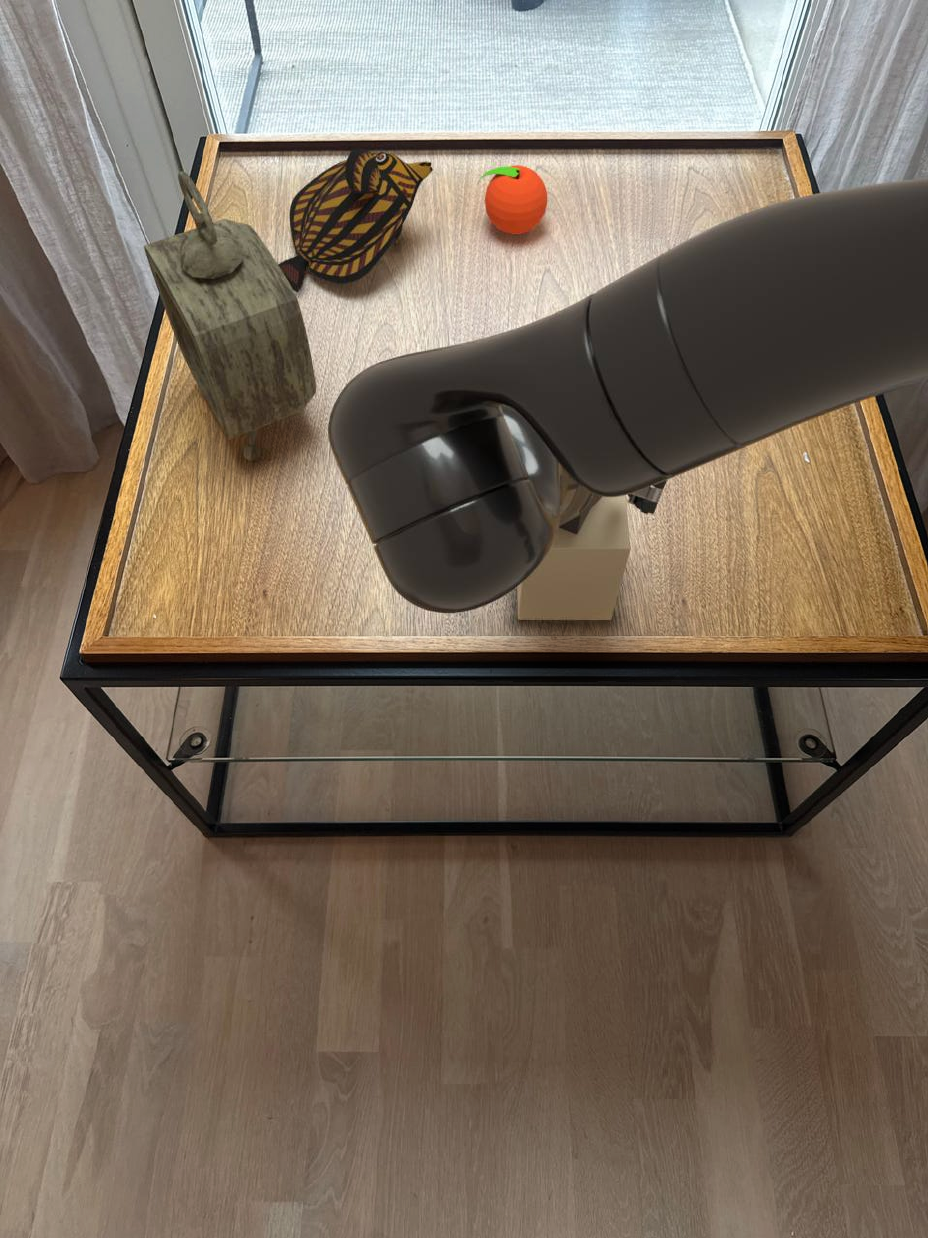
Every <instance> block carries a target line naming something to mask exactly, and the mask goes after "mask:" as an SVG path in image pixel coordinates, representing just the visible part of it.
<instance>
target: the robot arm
mask: <svg viewBox="0 0 928 1238" xmlns="http://www.w3.org/2000/svg"><path fill="white" fill-rule="evenodd" d="M927 380H928V176H927V177H920V178H912V179H905V180H898V181H897V180H896V181H891V182H883V183H875V184H870V185H862V186H855V187H849V188H843V189H835V190H828V191H824V192H819V193H813V194H809V195H804V196H798V197H794V198H791V199H787V200H783V201H780V202H775V203H772V204H768V205H766V206H763V207H759V208H757V209H753V210H751V211H748V212H746V213H742V214H740V215H738V216H735V217H732V218H730V219H728V220H725V221H723V222H720V223H718V224H715V225H714V226H712V227H710V228H707V229H706V230H704V231H702V232H699V233H698V234H695V235H694V236H692V237H690V238H687V239H685V240H684V241H683V242H681V243H679V244H677V245H675V246H673V247H672V248H670V249H668V250H667V251H665V252H664V253H661V254H659V255H658V256H656V257H654V258H652V259H651V260H649V261H647V262H645V263H643V264H642V265H640V266H639V267H637V268H635V269H633V270H632V271H630V272H628V273H626V274H624V275H623V276H621V277H619V278H618V279H616V280H614V281H612V282H610V283H608V284H607V285H605V286H603V287H601V288H599V289H598V290H597V291H596V292H594V293H591V294H589V295H588V296H586V297H584V298H582V299H580V300H578V301H577V302H575V303H573V304H571V305H569V306H567V307H565V308H563V309H561V310H559V311H556V312H554V313H552V314H550V315H547V316H545V317H542V318H540V319H538V320H535V321H533V322H530V323H528V324H525V325H522V326H519V327H516V328H513V329H510V330H507V331H503V332H500V333H497V334H493V335H490V336H487V337H483V338H479V339H475V340H471V341H466V342H462V343H457V344H452V345H447V346H442V347H437V348H432V349H425V350H421V351H415V352H411V353H405V354H402V355H399V356H395V357H393V358H388V359H386V360H382V361H379V362H377V363H375V364H372V365H370V366H369V367H367V368H364V369H363V370H361V371H360V372H359V373H357V374H355V376H354V377H353V378H352V379H350V381H349V382H348V383H347V384H346V385H345V386H344V387H343V389H342V390H341V391H340V392H339V395H338V396H337V399H336V400H335V402H334V404H333V407H332V409H331V412H330V414H329V417H328V418H329V419H328V425H327V437H328V441H329V445H330V450H331V452H332V455H333V457H334V460H335V462H336V464H337V467H338V469H339V472H340V475H341V476H342V479H343V480H344V483H345V484H346V486H347V490H348V492H349V494H350V497H351V499H352V502H353V503H354V506H355V508H356V510H357V513H358V514H359V517H360V519H361V522H362V524H363V527H364V529H365V530H366V533H367V535H368V538H369V540H370V542H371V544H372V545H374V546H373V550H374V552H375V555H376V557H377V559H378V562H379V564H380V566H381V569H382V570H383V573H384V575H385V577H386V578H387V580H388V582H389V584H390V585H391V587H392V588H393V589H394V590H395V592H397V594H398V595H399V596H401V597H402V598H403V599H404V600H406V601H407V602H409V603H410V604H411V605H413V606H415V607H417V608H419V609H422V610H425V611H428V612H433V613H437V614H438V613H439V614H459V613H465V612H470V611H473V610H476V609H480V608H482V607H485V606H487V605H490V604H492V603H494V602H496V601H498V600H500V599H501V598H503V597H504V596H506V595H508V594H509V593H511V592H512V591H513V590H515V589H517V586H518V585H520V584H521V583H522V582H523V581H524V580H525V579H527V578H528V577H529V576H530V575H531V574H532V573H533V571H534V570H535V569H536V568H537V567H538V566H539V565H540V563H541V562H542V561H543V559H544V558H545V556H546V555H547V553H548V552H549V550H550V548H551V547H552V544H553V542H554V540H555V537H556V533H557V530H558V526H560V525H562V524H564V523H566V522H568V521H570V520H572V519H574V518H576V517H578V516H580V515H582V514H584V513H585V512H587V511H588V510H589V509H591V508H592V507H593V506H594V505H595V504H596V503H597V502H598V501H599V500H600V499H601V498H602V496H604V497H620V496H624V495H625V496H628V500H627V503H628V504H630V505H633V506H635V508H636V509H637V510H640V513H643V514H646V515H648V514H652V515H654V514H655V513H656V512H655V511H656V509H657V506H658V504H659V502H660V499H661V497H662V495H663V492H664V489H665V487H666V484H667V481H668V480H670V479H673V478H675V477H676V476H679V475H683V474H684V473H688V472H690V471H692V470H694V469H696V468H699V467H701V466H703V465H706V464H709V463H711V462H713V461H716V460H718V459H720V458H723V457H726V456H727V455H730V454H733V453H735V452H738V451H740V450H742V449H745V448H747V447H749V446H752V445H754V444H756V443H758V442H759V443H760V442H761V441H763V440H766V439H768V438H770V437H773V436H775V435H777V434H780V433H782V432H785V431H786V430H789V429H791V428H794V427H796V426H798V425H801V424H803V423H806V422H809V421H811V420H814V419H816V418H817V419H818V418H819V417H821V416H824V415H827V414H829V413H832V412H835V411H837V410H840V409H843V408H845V407H849V406H851V405H854V404H856V403H859V402H862V401H865V400H868V399H872V398H875V397H877V396H881V395H883V394H886V393H890V392H892V391H895V390H898V389H901V388H904V387H908V386H910V385H914V384H917V383H921V382H923V381H927Z"/></svg>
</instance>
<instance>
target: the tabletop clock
mask: <svg viewBox="0 0 928 1238" xmlns="http://www.w3.org/2000/svg"><path fill="white" fill-rule="evenodd" d="M177 180H178V183H179V188H180V190H181V193H182V196H183V198H184V201H185V204H186V206H187V209H188V211H189V213H190V215H191V217H192V220H193V222H194V225H195V228H192V229H190V230H186V231H184V232H181V233H177V234H174V235H172V236H168V237H166V238H162V239H158V240H157V241H154V242H150V243H147V244H144V245H143V249H144V253H145V257H146V259H147V262H148V265H149V268H150V271H151V274H152V277H153V280H154V283H155V286H156V288H157V291H158V292H157V293H158V294H159V298H160V299H161V303H162V305H163V308H164V311H165V314H166V316H167V319H168V321H169V324H170V326H171V329H172V332H173V334H174V337H175V340H176V343H177V344H178V347H179V350H180V352H181V355H182V356H183V358H184V361H185V363H186V364H187V367H188V369H189V371H190V373H191V375H192V377H193V378H194V380H195V383H196V384H197V386H198V388H199V390H200V392H201V394H202V395H203V397H204V400H205V402H206V403H207V405H208V407H209V408H210V410H211V412H212V414H213V416H214V417H215V419H216V421H217V424H218V425H219V427H220V429H221V431H222V432H223V433H224V436H225V437H226V438H227V439H228V441H230V440H233V439H235V438H238V437H241V436H243V435H245V434H248V444H247V445H245V446H244V448H243V457H244V458H245V459H246V460H247V461H249V462H256V461H257V460H258V459H259V458H260V457H261V454H262V453H261V448H260V447H259V446H258V445H256V439H257V432H258V429H260V428H263V427H265V426H268V425H271V424H273V423H276V422H279V421H280V420H284V419H286V418H288V417H290V416H293V415H296V414H298V413H301V412H303V411H304V410H305V408H306V407H307V406H308V404H309V403H310V402H311V400H312V399H313V397H314V396H315V395H316V393H317V381H316V375H315V370H314V363H313V357H312V352H311V348H310V344H309V338H308V334H307V329H306V325H305V321H304V317H303V313H302V309H301V306H300V304H299V300H298V297H297V295H296V293H295V290H293V289H292V287H291V286H290V284H289V282H288V280H287V279H286V277H285V275H284V274H283V272H282V271H281V269H280V267H279V266H278V264H279V263H278V262H277V261H276V259H275V258H274V256H273V255H272V253H271V252H270V250H269V249H268V247H267V246H266V244H265V243H264V241H263V240H262V238H261V237H260V236H259V234H258V233H257V232H256V230H255V229H254V228H253V226H252V225H250V224H247V223H244V222H239V221H235V220H231V219H226V218H223V219H222V218H221V219H219V220H216V221H213V219H212V215H211V214H210V211H209V209H208V206H207V204H206V202H205V200H204V198H203V196H202V194H201V192H200V190H199V189H198V186H197V185H196V183H195V182H194V181H193V179H192V178H191V177H190V175H189V174H188V173H187V172H185V171H179V172H178V175H177ZM197 208H198V209H197Z"/></svg>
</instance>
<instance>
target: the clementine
mask: <svg viewBox="0 0 928 1238" xmlns="http://www.w3.org/2000/svg"><path fill="white" fill-rule="evenodd" d="M490 175H494V176H493V177H491V178H490V179H491V180H490V181H489V183H488V185H487V187H486V190H485V195H484V206H485V211H486V214H487V217H488V219H489V220H490V222H491V224H493V226H495V227H496V228H497V229H498V230H499V231H501V232H503V233H506V234H510V235H520V234H521V235H522V234H525V233H528V232H530V231H532V230H533V229H534V228H535V227H536V226H538V225H539V224H540V222H541V221H542V219H543V217H544V216H545V214H546V210H547V206H548V201H549V200H548V191H547V188H546V187H547V186H546V185H545V182H544V180H543V179H542V178H541V176H540V175H539V174H538V173H537V172H536V171H535V170H533V169H532V168H530V167H527V166H524V165H515V164H514V165H510V166H499V167H494V168H493V169H490V170H487V171H486V172H485V173H484V174H483V175H482V176H480V178H479V180H478V182H477V184H476V186H478V184H479V183H480V181H481V180H482V179H484V177H487V176H490Z"/></svg>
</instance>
